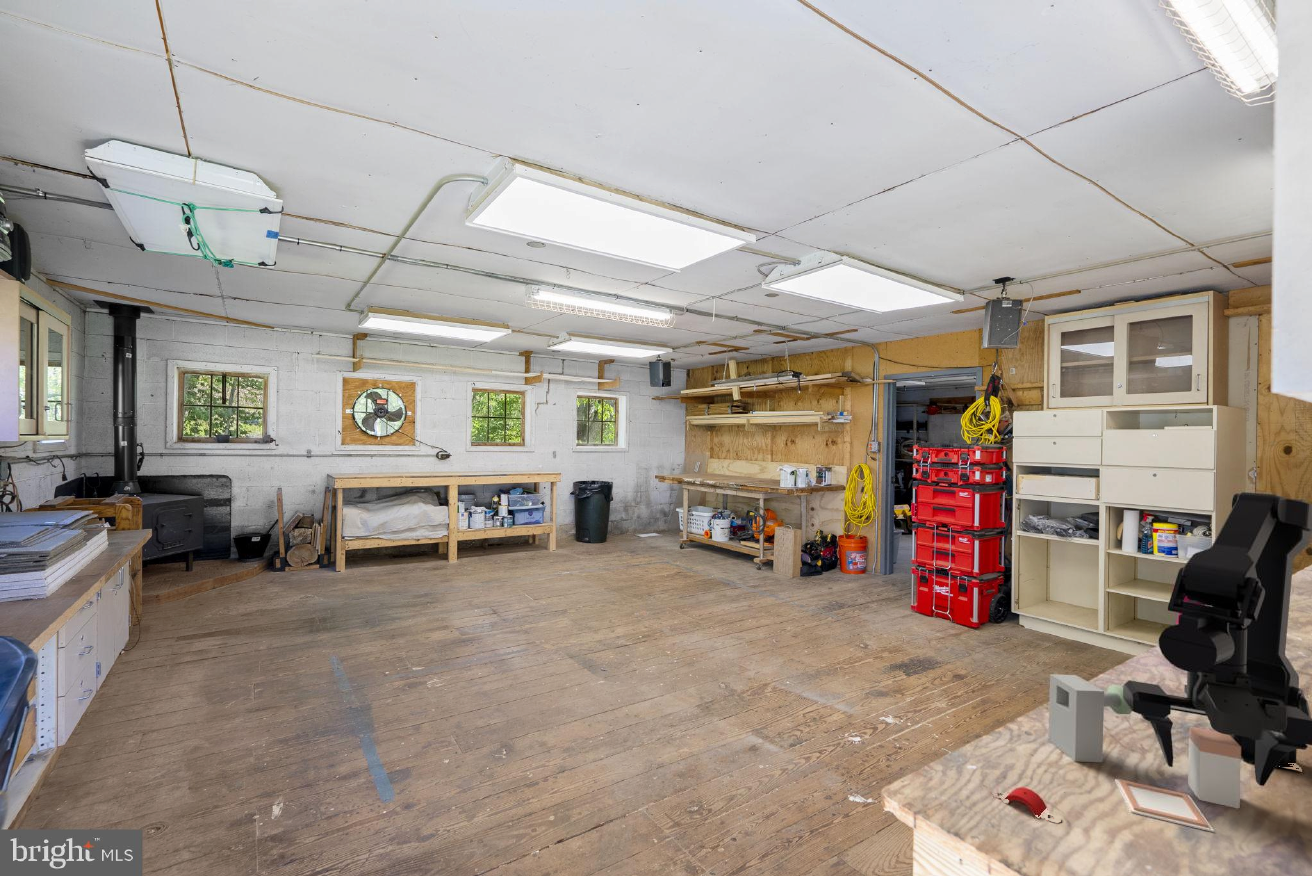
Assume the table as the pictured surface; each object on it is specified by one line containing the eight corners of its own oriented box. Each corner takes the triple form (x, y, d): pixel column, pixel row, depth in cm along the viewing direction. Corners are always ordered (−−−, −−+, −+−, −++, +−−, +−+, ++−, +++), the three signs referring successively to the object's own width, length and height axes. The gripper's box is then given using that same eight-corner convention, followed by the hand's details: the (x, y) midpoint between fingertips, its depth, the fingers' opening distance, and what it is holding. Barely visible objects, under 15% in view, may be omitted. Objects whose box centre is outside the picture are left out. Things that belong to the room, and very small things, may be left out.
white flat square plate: (1189, 797, 79) (1189, 793, 79) (1213, 832, 72) (1214, 827, 72) (1114, 780, 82) (1114, 776, 82) (1131, 812, 75) (1131, 808, 75)
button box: (1074, 741, 93) (1075, 675, 93) (1102, 761, 87) (1104, 691, 87) (1048, 740, 93) (1050, 674, 93) (1074, 761, 87) (1076, 690, 87)
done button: (1112, 706, 92) (1113, 681, 92) (1133, 719, 88) (1133, 692, 88) (1069, 705, 92) (1070, 679, 92) (1088, 717, 88) (1088, 690, 88)
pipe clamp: (986, 798, 78) (987, 782, 78) (995, 790, 80) (996, 774, 80) (1057, 830, 72) (1057, 813, 72) (1064, 821, 74) (1065, 804, 74)
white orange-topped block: (1226, 792, 80) (1227, 733, 80) (1239, 808, 76) (1241, 746, 77) (1188, 784, 82) (1189, 726, 82) (1199, 799, 78) (1200, 738, 78)
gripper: (1146, 664, 76) (1143, 785, 76) (1351, 695, 68) (1348, 831, 68) (1123, 639, 86) (1120, 746, 86) (1299, 663, 78) (1297, 782, 78)
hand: (1213, 774), depth 79 cm, fingers open, 9 cm apart
